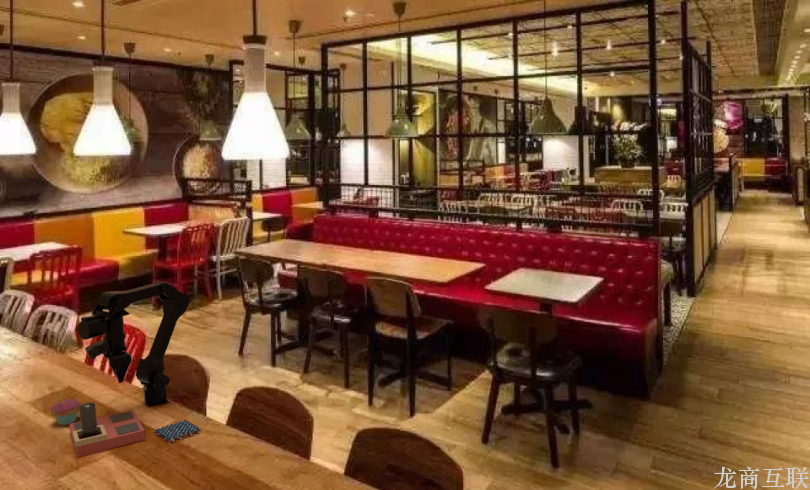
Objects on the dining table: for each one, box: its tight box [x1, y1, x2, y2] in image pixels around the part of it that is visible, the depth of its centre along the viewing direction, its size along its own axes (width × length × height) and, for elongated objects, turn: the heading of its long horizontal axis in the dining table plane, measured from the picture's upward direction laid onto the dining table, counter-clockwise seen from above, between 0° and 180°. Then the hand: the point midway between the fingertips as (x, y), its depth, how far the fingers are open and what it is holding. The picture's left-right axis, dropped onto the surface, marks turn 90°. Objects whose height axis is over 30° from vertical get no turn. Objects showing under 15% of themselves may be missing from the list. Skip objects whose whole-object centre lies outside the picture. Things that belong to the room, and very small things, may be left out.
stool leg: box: [79, 401, 98, 439], centre depth 175 cm, size 4×4×13 cm
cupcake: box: [50, 387, 82, 426], centre depth 193 cm, size 9×8×12 cm
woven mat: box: [153, 419, 201, 445], centre depth 185 cm, size 10×11×2 cm
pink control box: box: [69, 409, 146, 458], centre depth 183 cm, size 18×18×4 cm
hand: (118, 378), depth 195 cm, fingers open, 9 cm apart
